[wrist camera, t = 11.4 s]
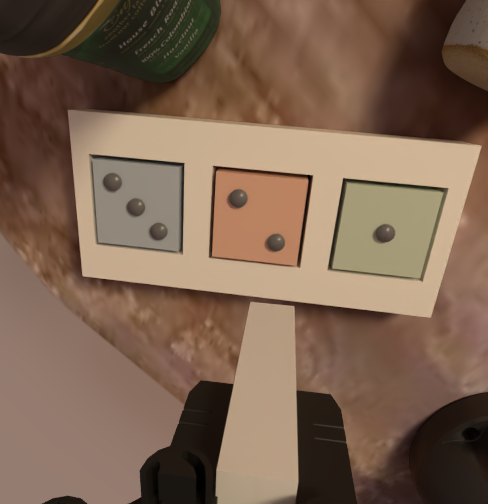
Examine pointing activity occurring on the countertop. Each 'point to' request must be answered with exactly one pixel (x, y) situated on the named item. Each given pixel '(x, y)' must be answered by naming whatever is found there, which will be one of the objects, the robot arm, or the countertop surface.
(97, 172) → the three-pip button
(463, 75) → the ceramic mug
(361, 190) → the one-pip button
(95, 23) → the coffee jar
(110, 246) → the button panel
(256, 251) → the two-pip button
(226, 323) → the countertop surface
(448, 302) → the countertop surface
